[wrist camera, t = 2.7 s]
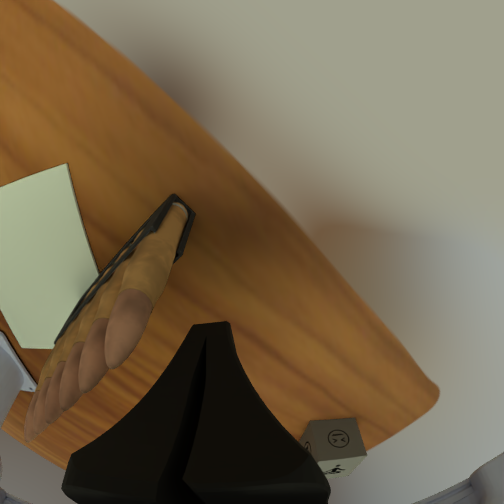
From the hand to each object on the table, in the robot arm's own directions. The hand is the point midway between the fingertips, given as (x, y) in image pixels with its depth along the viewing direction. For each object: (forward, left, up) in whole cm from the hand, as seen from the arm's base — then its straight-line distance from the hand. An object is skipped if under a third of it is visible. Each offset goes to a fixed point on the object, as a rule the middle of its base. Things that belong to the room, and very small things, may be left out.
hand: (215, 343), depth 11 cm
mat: (-15, 0, -8) cm, 17 cm away
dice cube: (+7, -23, -9) cm, 25 cm away
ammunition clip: (-6, 0, -8) cm, 10 cm away
